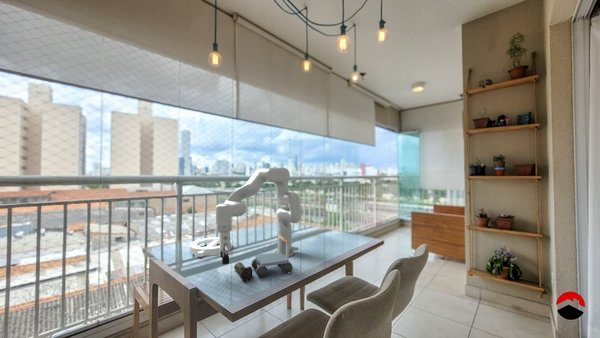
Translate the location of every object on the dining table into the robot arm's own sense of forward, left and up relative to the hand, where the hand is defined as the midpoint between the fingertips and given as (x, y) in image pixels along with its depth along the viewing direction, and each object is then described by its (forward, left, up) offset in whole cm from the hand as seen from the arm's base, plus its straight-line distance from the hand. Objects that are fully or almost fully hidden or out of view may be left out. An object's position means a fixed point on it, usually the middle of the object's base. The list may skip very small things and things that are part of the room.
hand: (224, 260), depth 125 cm
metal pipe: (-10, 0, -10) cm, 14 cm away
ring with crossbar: (+4, -52, -10) cm, 53 cm away
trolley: (-25, 0, -9) cm, 27 cm away
